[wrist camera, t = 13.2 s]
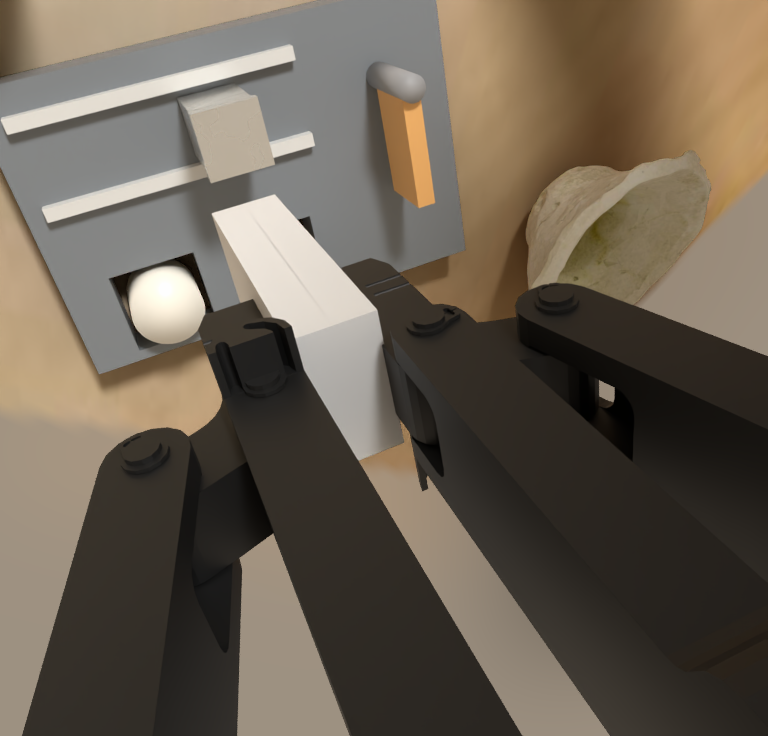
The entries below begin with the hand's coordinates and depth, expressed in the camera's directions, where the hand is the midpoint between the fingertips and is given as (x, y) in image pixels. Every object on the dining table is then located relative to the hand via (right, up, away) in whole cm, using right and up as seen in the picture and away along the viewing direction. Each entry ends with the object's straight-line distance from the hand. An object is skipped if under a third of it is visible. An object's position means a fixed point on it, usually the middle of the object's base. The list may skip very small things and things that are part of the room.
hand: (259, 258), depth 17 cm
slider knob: (-6, +10, +21) cm, 24 cm away
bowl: (+16, +8, +36) cm, 40 cm away
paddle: (+3, +11, +24) cm, 27 cm away
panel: (-5, +9, +25) cm, 27 cm away
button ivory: (-10, +2, +26) cm, 28 cm away
